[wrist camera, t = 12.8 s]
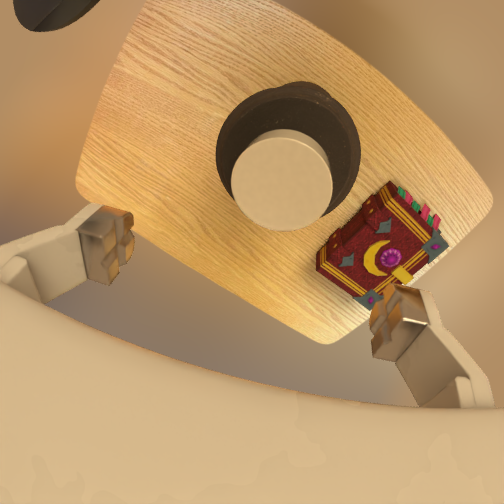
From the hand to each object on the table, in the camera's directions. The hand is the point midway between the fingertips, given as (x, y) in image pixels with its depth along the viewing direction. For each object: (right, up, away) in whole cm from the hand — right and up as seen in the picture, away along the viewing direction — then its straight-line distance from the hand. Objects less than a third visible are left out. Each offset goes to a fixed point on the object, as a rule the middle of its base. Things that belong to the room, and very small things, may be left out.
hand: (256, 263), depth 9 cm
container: (+6, +16, +23) cm, 29 cm away
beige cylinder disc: (+2, +5, +7) cm, 9 cm away
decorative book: (+18, +2, +30) cm, 35 cm away
